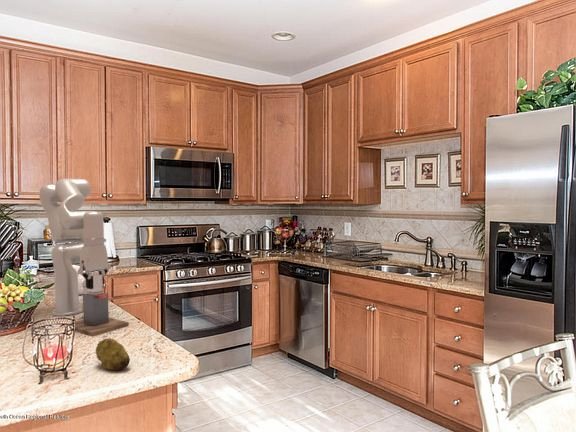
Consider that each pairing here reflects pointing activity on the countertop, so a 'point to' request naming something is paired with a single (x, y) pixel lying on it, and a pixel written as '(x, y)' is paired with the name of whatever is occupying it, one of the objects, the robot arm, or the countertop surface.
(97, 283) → the steel post
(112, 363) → the potato
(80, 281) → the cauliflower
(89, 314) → the stand
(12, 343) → the countertop surface
